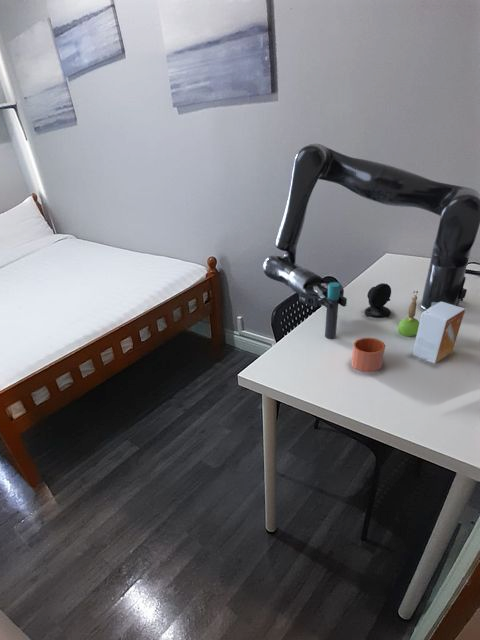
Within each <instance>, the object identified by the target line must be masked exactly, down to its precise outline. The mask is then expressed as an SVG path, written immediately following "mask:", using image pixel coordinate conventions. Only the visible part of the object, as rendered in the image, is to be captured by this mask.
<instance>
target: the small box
mask: <svg viewBox="0 0 480 640" xmlns="http://www.w3.org/2000/svg"><path fill="white" fill-rule="evenodd" d="M465 311H466V307H465V308H464V307H461V306H459V305H458V306H455V305H451V304H448V303H445V302H439V303H437V304H435V305H434V306H432V307H430V308H429V309H427V310H423V311H422V312H421V315H420V319H419V327H418V332H417V334H416V335H415V336H416V337H415V340H414V341H415V342H414V346H413V350H412V355H413V356H416V357H418V358H421V359H422V360H425V361H428V362H430V363H433V364H437V363H438V362H439V361H441V360H442V359H444V358H445V357H447V356H448V355H451V354H453V352H454V348H455V345H456V341H457V338H458V335H459V331H460V329H461V325H462V321H463V318H464V315H465Z"/></svg>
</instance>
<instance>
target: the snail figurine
mask: <svg viewBox="0 0 480 640" xmlns="http://www.w3.org/2000/svg"><path fill="white" fill-rule="evenodd" d="M412 293H413V295H412V296H411V302H410V304H409V307H408V317H405V318H403V319H402V320H401V321H400V322H399V324H398V326H397V329H398V332H399V334H401V335H402V336H403V337H407V338H410V337H415V336H417V332H418V327H419V323H420V320H418V319H417V318H415V316H416V311H417V300H418V293H419V291H418V290H413V291H412Z"/></svg>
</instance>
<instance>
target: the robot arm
mask: <svg viewBox="0 0 480 640" xmlns="http://www.w3.org/2000/svg"><path fill="white" fill-rule="evenodd" d="M319 180H321V181H326V182H330V183H334V184H336V185H340V186H341V187H344V188H345V189H347V190H349V191H350V192H352V193H355V194H356V195H358V196H360V197H361V198H363V199H367V200H369V201H373V202H375V203H379V204H380V205H381V204H382V205H385V206H390V207H403V208H404V207H405V208H416V209H420V210H424V211H427V212H429V213H432V214H434V215H437V216H439V217H440V218H439V222H438V228H437V232H436V237H435V240H434V243H433V248H432V252H431V257H430V262H429V267H428V269H427V276H426V280H425V284H424V289H423V294H422V297H421V302H420V308H421V309H422V310H423V311H425V310H427V309H429V308H430V307H432V306H434V305H435V304H437V303H439V302H445V303H448V304H451V305H455V306H458V307H459V304H460V302H463V301H464V299H465V298H466V294H467V292H468V289H467V288H464V286H465V283H466V279H467V278H466V276H465V274H466V271H467V267H468V263H469V259H470V256H471V251H472V248H473V246H474V244H475V242H476V238H477V235H478V232H479V228H480V192H479V191H477V190H476V189H474V188H471V187H468V186H462V185H456V184H451V183H444V182H440V181H435V180H432V179H429V178H427V177H425V176H422V175H419V174H417V173H414V172H411V171H408V170H405V169H402V168H400V167H396V166H392V165H390V164H386V163H383V162H377V161H373V160H370V159H369V160H368V159H364V158H357V157H353V156H349V155H346V154H343V153H341V152H339V151H336V150H333V149H331V148H329V147H328V146H325V145H323V144H320V143H316V142H315V143H310V144H307V145H305V146H303V147H301V149H300V150H298V151H297V153H296V155H295V157H294V159H293V166H292V174H291V180H290V187H289V192H288V195H287V201H286V204H285V208H284V212H283V215H282V218H281V221H280V224H279V227H278V231H277V235H276V237H275V241H274V242H275V243H274V246H275V247H276V248H277V249H278V250H280V251H282V252H283V255H276V254H275V255H269V256H267V257H266V258H265V259H264V260H263V262H262V271H263V273H264V275H265V276H266V277H267V278H268V279H270V280H274V281H276V282H279V283H283V284H284V285H286V286H287V287H288V288H289V289H291V290H292V291H293V292H294V293H296V294H297V295H298V297H299V298H298V302H299V303H301V304H303V305H308V306H311V307H314V308H315V307H318V306H321V307H324V308H326V309H327V308H328V309H330V310H334V309H335V303H334V302H333V301H332V300H330V299H328V284H329V283H326V282H325V280H324V279H323V277H321V276H320V275H318V274H317V273H315V272H314V271H311V270H310V269H308V268H305V267H303V266H301V265H299V264H297V263H296V262H297V261H296V259H297V248H298V243H299V241H300V237H301V234H302V231H303V228H304V224H305V220H306V213H307V210H308V205H309V202H310V199H311V195H312V193H313V191H314V188H315V186H316V184H317V182H318V181H319ZM337 283H340V293H339V304H338V305H339V306H341V307H346V306H347V303H348V299H347V297H345V296H344V293H345V290H344V288H343V285H342V283H341V282H337Z"/></svg>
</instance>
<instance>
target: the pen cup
mask: <svg viewBox="0 0 480 640" xmlns="http://www.w3.org/2000/svg"><path fill="white" fill-rule="evenodd" d="M385 351H386V343H385V342H384V341H382V340H380V339H378V338H375V337H361V338H358V339H356V340H355V341H354V342H353V345H352V352H351V362H350V364H351V366H352V368H354V369H355V370H357V371H360V372H362V373H374V372H377V371H379V370H381V369H382V368H383V362H384V358H385Z"/></svg>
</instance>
